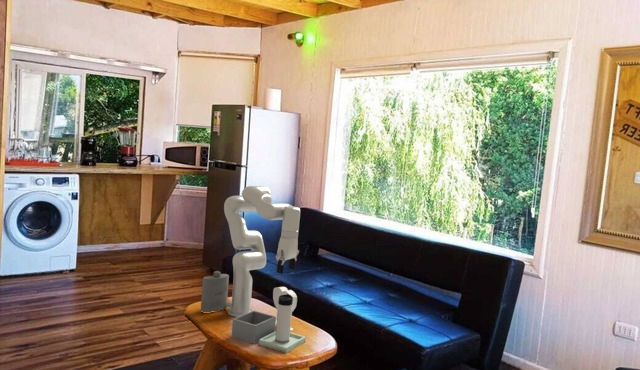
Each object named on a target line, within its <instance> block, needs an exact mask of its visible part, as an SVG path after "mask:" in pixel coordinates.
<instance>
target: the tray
mask: <svg viewBox="0 0 640 370" xmlns="http://www.w3.org/2000/svg"><path fill="white" fill-rule="evenodd" d="M275 337H276V330H275V332H273V333H271V334H269V335H267V336H265V337H263V338H261V339H259V342H258V345H259V346H262V347H266V348H268V349H272V350H275V351H279V352H281V353H284V354H287V353H289V352H291V351H292V350H294V349H296V348H297V347H299V346H301V345H303V344H304V343H306V339H307V337H306V336H304V335H301V334H297V333H295V332H291V331H290V340H289V342H287V343H279V342H276V340H275Z"/></svg>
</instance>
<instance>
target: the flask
mask: <svg viewBox="0 0 640 370" xmlns="http://www.w3.org/2000/svg"><path fill="white" fill-rule="evenodd" d="M229 275H230V274H227V273H221V272H220V271H219V270H216V271H213V275H212V276H211V275H209V276H204V277H202V284H201V285H202V286H201V300H200V312H201V311H203V312H211V311H219V310H222V311H225V310H226V309H227V307H228V306H226V304H227V302H228V294H229V293H228V292H229V282H230V280H229V278H230V276H229ZM224 309H225V310H224ZM219 312H220V311H219Z"/></svg>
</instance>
